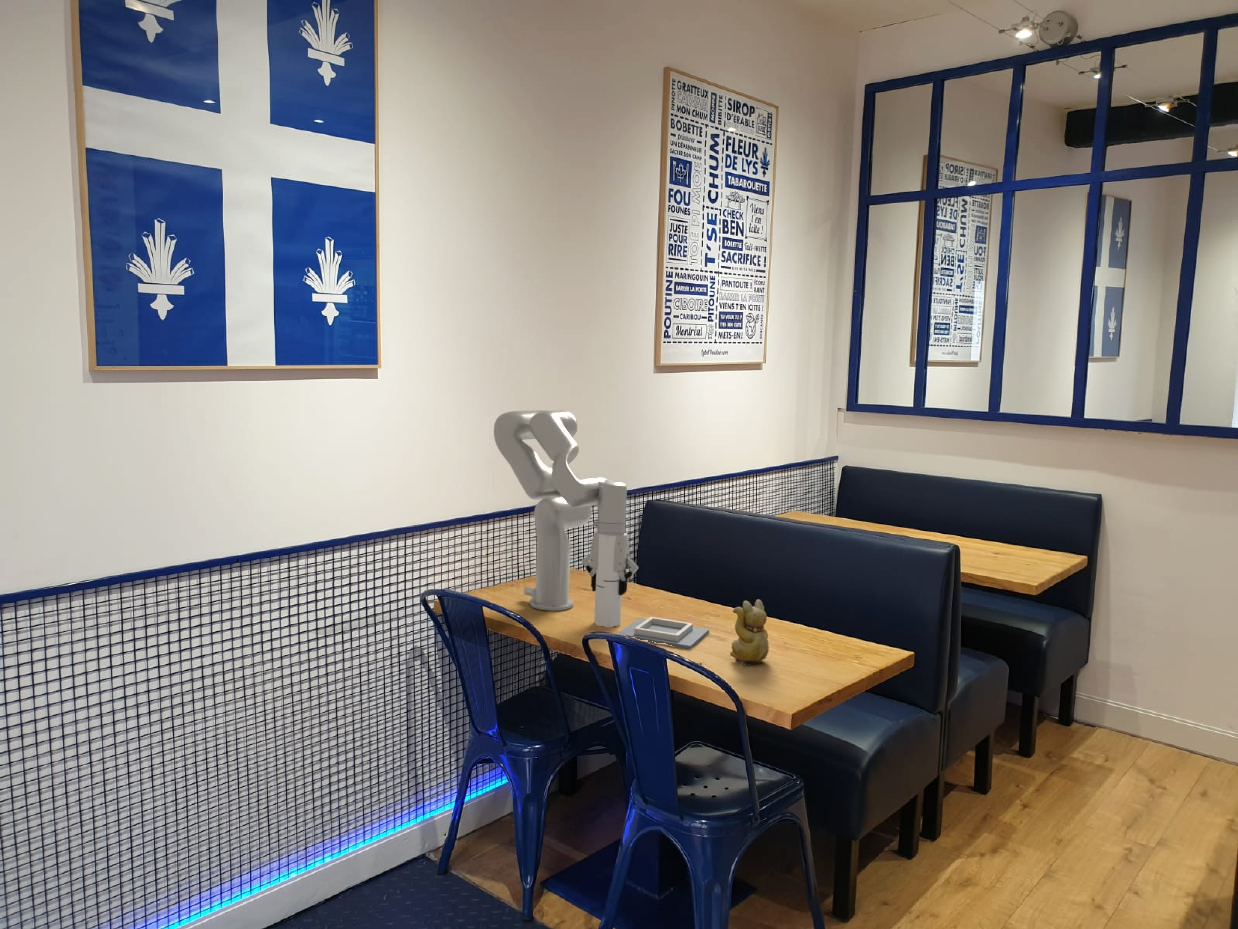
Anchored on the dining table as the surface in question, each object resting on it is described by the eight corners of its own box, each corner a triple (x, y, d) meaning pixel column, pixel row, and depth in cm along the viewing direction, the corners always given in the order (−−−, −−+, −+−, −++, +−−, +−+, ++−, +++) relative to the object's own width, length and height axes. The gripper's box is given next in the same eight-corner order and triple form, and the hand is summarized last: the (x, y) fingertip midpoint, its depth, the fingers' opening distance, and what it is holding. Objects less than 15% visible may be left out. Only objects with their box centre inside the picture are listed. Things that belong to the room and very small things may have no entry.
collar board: (616, 637, 244) (617, 628, 243) (639, 621, 258) (639, 612, 258) (690, 649, 236) (690, 640, 236) (709, 632, 251) (709, 623, 251)
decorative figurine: (752, 653, 235) (755, 595, 233) (777, 662, 229) (781, 602, 227) (725, 660, 229) (728, 600, 227) (750, 670, 223) (753, 608, 221)
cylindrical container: (617, 628, 251) (621, 536, 248) (591, 625, 253) (595, 534, 250) (622, 621, 258) (626, 531, 255) (597, 618, 260) (601, 529, 257)
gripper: (576, 526, 252) (573, 591, 254) (636, 534, 245) (633, 600, 248) (587, 522, 259) (585, 584, 261) (646, 529, 252) (643, 593, 255)
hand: (608, 591), depth 254 cm, fingers closed on cylindrical container, 7 cm apart
